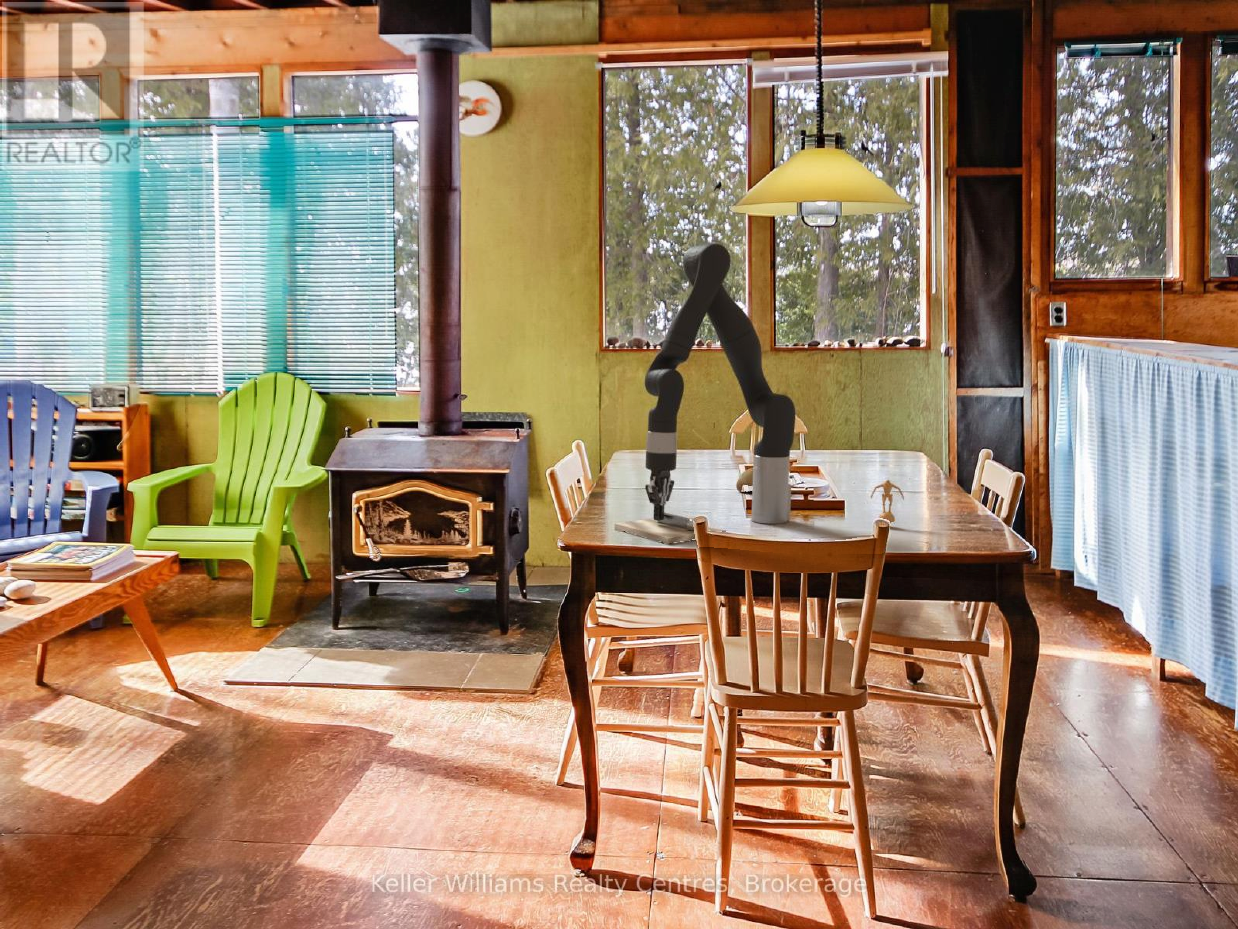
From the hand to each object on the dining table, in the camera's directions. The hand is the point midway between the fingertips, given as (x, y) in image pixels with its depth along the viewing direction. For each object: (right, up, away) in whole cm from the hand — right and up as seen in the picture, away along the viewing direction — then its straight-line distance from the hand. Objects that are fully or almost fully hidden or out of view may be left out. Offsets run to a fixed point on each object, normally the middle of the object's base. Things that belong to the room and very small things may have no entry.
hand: (658, 519), depth 273 cm
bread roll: (+33, +5, +61) cm, 70 cm away
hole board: (+3, -3, -2) cm, 4 cm away
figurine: (+59, -2, +11) cm, 60 cm away
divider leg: (+5, -1, -2) cm, 5 cm away
